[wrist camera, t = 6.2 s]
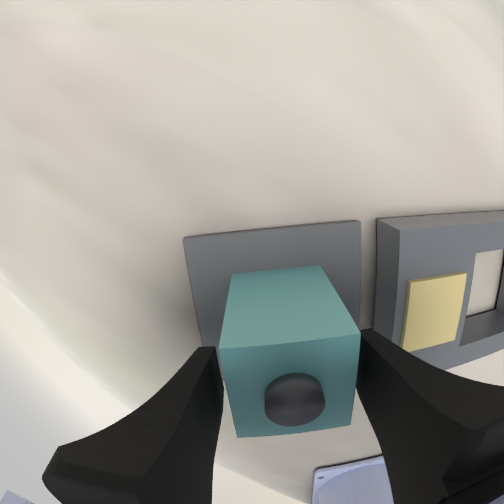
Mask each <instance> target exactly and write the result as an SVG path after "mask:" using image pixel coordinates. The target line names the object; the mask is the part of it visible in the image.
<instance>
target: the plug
mask: <svg viewBox="0 0 504 504" xmlns="http://www.w3.org/2000/svg"><path fill="white" fill-rule="evenodd" d="M360 338H361V332H360V331H359V329H358V327H357V326H356V324H355V322H354V320H353V319H352V317H351V315H350V314H349V312H348V310H347V309H346V307H345V305H344V304H343V302H342V300H341V299H340V297H339V295H338V294H337V292H336V290H335V289H334V287H333V285H332V284H331V282H330V280H329V279H328V277H327V276H326V274H325V272H324V271H323V269H322V267H321V266H320V265H313V266H304V267H294V268H284V269H274V270H264V271H254V272H243V273H233V274H232V277H231V282H230V287H229V293H228V298H227V304H226V309H225V315H224V320H223V326H222V331H221V337H220V342H219V348H218V349H219V355H220V360H221V365H222V370H223V375H224V379H225V384H226V389H227V394H228V398H229V403H230V408H231V412H232V417H233V421H234V426H235V430H236V434H237V438H240V437H259V436H272V435H283V434H293V433H301V432H309V431H316V430H323V429H329V428H335V427H341V426H346V425H350V423H351V417H352V410H353V403H354V396H355V388H356V379H357V370H358V361H359V350H360Z"/></svg>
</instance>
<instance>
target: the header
mask: <svg viewBox="0 0 504 504" xmlns="http://www.w3.org/2000/svg"><path fill="white" fill-rule="evenodd" d="M499 249H504V211H486V212H469V213H453V214H437V215H423V216H408V217H395V218H382V219H377V277H376V297H375V312H374V325H373V330H374V331H376V332H378V333H379V334H381V335H382V336H384V337H385V338H387V339H388V340H390V341H392V342H393V343H395V344H396V345H398V346H399V347H401V348H402V349H404V350H406V351H407V352H409V353H411V354H412V355H414V356H416V357H418V358H420V359H421V360H423V361H425V362H427V363H429V364H431V365H433V366H435V367H437V368H440V369H442V370H446V369H449V368H452V367H455V366H458V365H461V364H464V363H467V362H470V361H473V360H476V359H478V358H481V357H484V356H486V355H489V354H492V353H494V352H497V351H499V350H502V349H504V268H503V274H502V280H501V286H500V291H499V296H498V301H497V306H496V310H492V311H489V312H486V313H482V314H479V315H475V316H472V317H468V318H466V313H467V308H468V302H469V297H470V291H471V285H472V278H473V271H474V263H475V254H476V253H480V252H486V251H493V250H499Z"/></svg>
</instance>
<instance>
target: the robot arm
mask: <svg viewBox="0 0 504 504" xmlns="http://www.w3.org/2000/svg"><path fill="white" fill-rule="evenodd" d="M359 331H360V332H361V338H360V350H359V361H358V370H357V379H356V389H357V392H358V395H359V398H360V400H361V402H362V405H363V407H364V409H365V412H366V414H367V416H368V418H369V420H370V423H371V425H372V427H373V430H374V432H375V434H376V436H377V439H378V442H379V444H380V447H381V451H382V454H383V456H379V457H376V458H371V459H367V460H363V461H359V462H354V463H349V464H344V465H339V466H333V467H327V468H321V469H318V470H316V471H315V473H314V484H313V494H312V504H504V386H498V385H492V384H486V383H482V382H478V381H474V380H470V379H467V378H464V377H460V376H458V375H455V374H452V373H449V372H447V371H445V370H442V369H440V368H437V367H435V366H433V365H431V364H429V363H427V362H425V361H423V360H421V359H420V358H418V357H416V356H414V355H412V354H411V353H409V352H407V351H406V350H404V349H402V348H401V347H399V346H398V345H396V344H395V343H393V342H392V341H390V340H388V339H387V338H385V337H384V336H382V335H381V334H379V333H378V332H376V331H374V330H373V329H365V330H359ZM223 397H224V386H223V381H222V377H221V372H220V367H219V362H218V357H217V352H216V347H215V346H205V347H198V348H197V350H196V351H195V352H194V353H193V354H192V355H191V356H190V358H189V359H188V360H187V361H186V362H185V364H184V365H183V366H182V367H181V368H180V369H179V370H178V372H177V373H176V374H175V375H174V376H173V377H172V378H171V379H170V380H169V381H168V382H167V383H166V384H165V385H164V386H163V387H162V388H161V389H160V390H159V391H158V392H157V393H156V394H155V395H154V396H153V397H151V398H150V399H149V400H148V401H147V402H145V403H144V404H143V405H141V406H140V407H139V408H138V409H136V410H135V411H133V412H132V413H130V414H129V415H127V416H126V417H124V418H122V419H121V420H119V421H118V422H116V423H114V424H112V425H111V426H109V427H107V428H105V429H103V430H101V431H99V432H97V433H95V434H92V435H90V436H88V437H85V438H83V439H80V440H77V441H74V442H71V443H68V444H65V445H62V446H59V447H58V448H57V450H56V452H55V453H54V455H53V457H52V459H51V461H50V462H49V464H48V466H47V468H46V470H45V471H44V474H43V475H42V480H43V482H44V484H45V486H46V488H47V489H48V490H49V491H50V492H51V493H52V494H53V495H54V496H55V497H56V498H57V499H58V500H59V501H60V502H61V503H62V504H212V480H213V465H214V457H215V451H216V446H217V440H218V435H219V430H220V424H221V418H222V412H223ZM0 504H33V503H32V502H30V501H29V500H27V499H25V498H22V497H20V496H19V495H17V494H15V493H13V492H11V491H6V493H5V495H4V496H3V498H2V500H1V502H0Z"/></svg>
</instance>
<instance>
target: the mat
mask: <svg viewBox="0 0 504 504" xmlns="http://www.w3.org/2000/svg"><path fill="white" fill-rule="evenodd" d="M183 245H184V251H185V257H186V262H187V268H188V274H189V279H190V285H191V290H192V295H193V301H194V306H195V311H196V316H197V321H198V325H199V330H200V335H201V340H202V344H203V347H205V346H215V347H216V352H217V357H218V362H219V367H220V372H221V377H222V381H225V379H224V375H223V370H222V365H221V360H220V355H219V349H218V348H219V342H220V337H221V331H222V326H223V320H224V315H225V309H226V304H227V298H228V293H229V287H230V282H231V277H232V274H233V273H243V272H254V271H264V270H274V269H284V268H294V267H304V266H313V265H320V266H321V267H322V269H323V271H324V272H325V274H326V276H327V277H328V279H329V280H330V282H331V284H332V285H333V287H334V289H335V290H336V292H337V294H338V295H339V297H340V299H341V300H342V302H343V304H344V305H345V307H346V309H347V310H348V312H349V314H350V315H351V317H352V319H353V320H354V322H355V324H356V326H357V327H358V329H359V312H360V285H361V222H360V221H358V220H357V221H345V222H333V223H322V224H311V225H300V226H289V227H279V228H268V229H258V230H248V231H239V232H229V233H220V234H210V235H201V236H192V237H184V239H183Z"/></svg>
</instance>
